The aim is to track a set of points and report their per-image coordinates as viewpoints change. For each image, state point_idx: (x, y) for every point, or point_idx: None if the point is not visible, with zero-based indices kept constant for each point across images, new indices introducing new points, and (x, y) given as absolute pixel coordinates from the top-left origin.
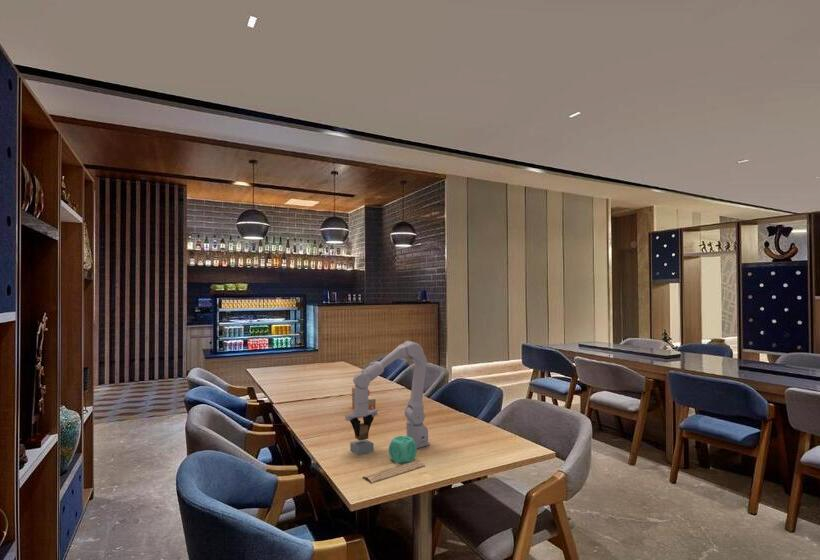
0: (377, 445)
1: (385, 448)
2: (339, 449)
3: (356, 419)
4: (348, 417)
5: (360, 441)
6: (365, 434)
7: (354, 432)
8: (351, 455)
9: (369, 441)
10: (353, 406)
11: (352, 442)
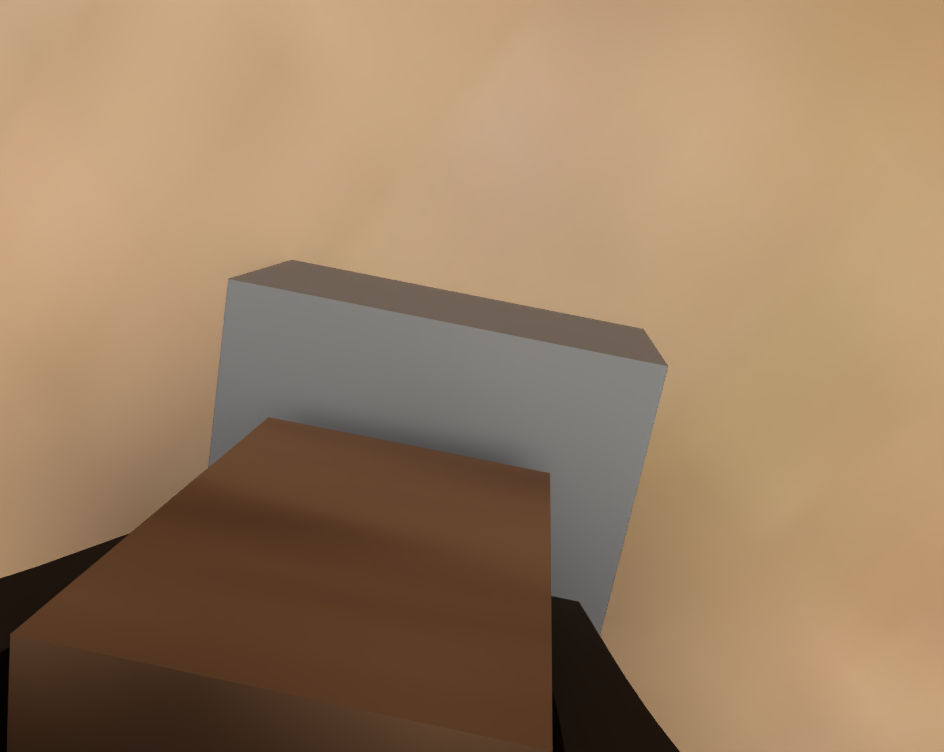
0: (851, 506)
1: (806, 733)
2: (152, 39)
3: None
4: None
5: (442, 440)
6: None
7: (109, 542)
8: (139, 492)
9: (589, 610)
10: None
11: (257, 335)
